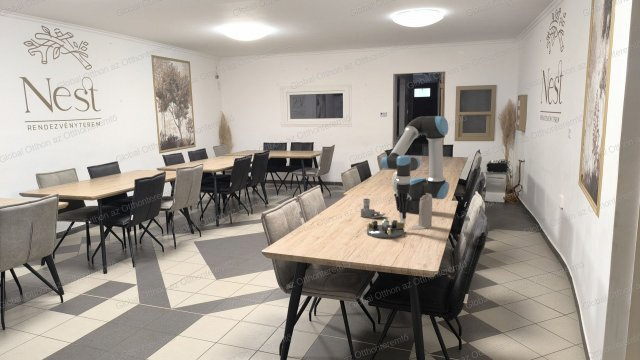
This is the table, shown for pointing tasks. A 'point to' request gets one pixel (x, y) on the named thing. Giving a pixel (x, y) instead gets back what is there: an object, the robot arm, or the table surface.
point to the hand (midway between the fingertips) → (402, 223)
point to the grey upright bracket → (425, 212)
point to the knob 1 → (372, 225)
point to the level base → (381, 231)
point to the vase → (395, 181)
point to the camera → (369, 211)
